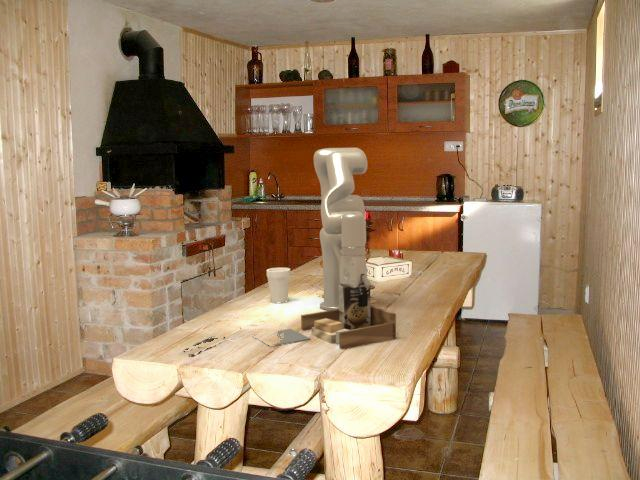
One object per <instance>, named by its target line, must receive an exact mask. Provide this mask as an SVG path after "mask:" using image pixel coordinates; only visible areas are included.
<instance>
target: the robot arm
mask: <svg viewBox="0 0 640 480" xmlns="http://www.w3.org/2000/svg"><path fill="white" fill-rule="evenodd" d="M313 167H314V170H315V173H316V175H317V178H318V181H319V184H320V195H321V196H320V197H321V204H320V217H321V226H322V228H321V229H320V230H319V242H320V246H321V253H322V254H321V256H322V277H323V279H322V281H323V283H322V284H323V294H322V295H321V298H322V299H323V301H322V302H320V304H319V308H320V309H322V310H326V311H330V310H336V309H339V284H342V285H347V286H350V287H351V288H356V287H357V290H358V292H359V294H360V295H358V306H359V307H365V306H368V297H367V294H368V291H369V287H370V288H371V283H372V282H371V281H370V280H369V278H368V269H367V260H366V243H367V228H366V227H367V226H366V225H367V224H366V210H365V203H364V201H363V198H362V197H361V196H360V195H357V194H353V193H354V191H355V187H356V186H355V180H354V175H363V174H365V173H366V172H367V170H368V158H367V156H366V153H365V152H364V150H362V149H360V148H359V147H328V148H327V147H325V148H321V149H317V150H316V151H315V152H314V155H313ZM361 288H363V289H362V290H361Z"/></svg>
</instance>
